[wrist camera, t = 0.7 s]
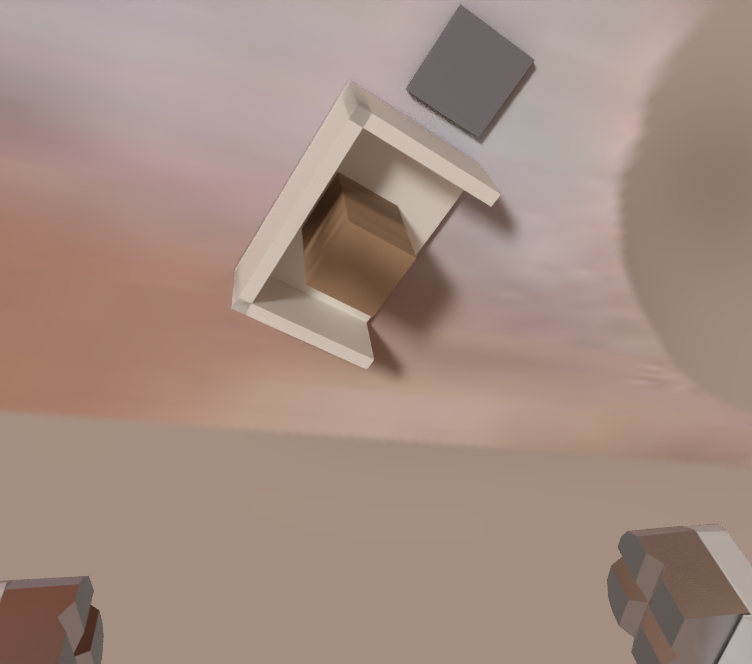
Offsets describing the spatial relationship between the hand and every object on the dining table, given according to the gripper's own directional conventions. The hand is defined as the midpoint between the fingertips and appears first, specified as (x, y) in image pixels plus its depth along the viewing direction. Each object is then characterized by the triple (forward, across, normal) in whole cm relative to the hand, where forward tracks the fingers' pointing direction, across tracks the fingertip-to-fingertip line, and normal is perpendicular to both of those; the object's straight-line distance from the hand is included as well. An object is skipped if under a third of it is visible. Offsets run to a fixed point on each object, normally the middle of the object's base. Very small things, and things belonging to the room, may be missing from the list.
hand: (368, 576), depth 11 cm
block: (+39, -4, +11) cm, 41 cm away
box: (+40, -4, +11) cm, 41 cm away
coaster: (+39, -12, +1) cm, 41 cm away
